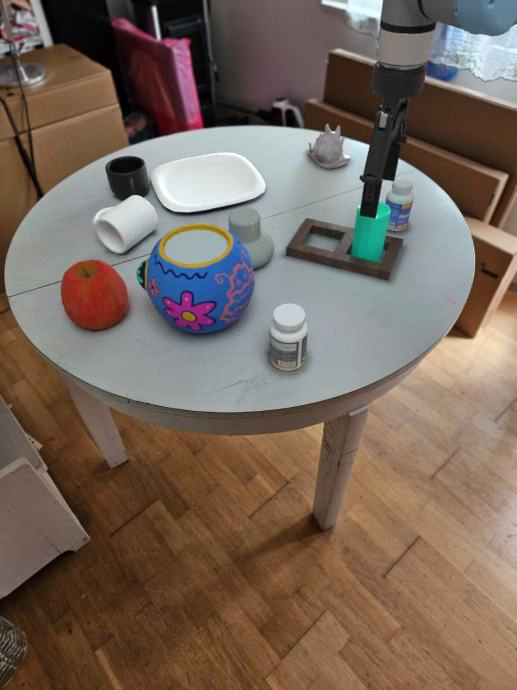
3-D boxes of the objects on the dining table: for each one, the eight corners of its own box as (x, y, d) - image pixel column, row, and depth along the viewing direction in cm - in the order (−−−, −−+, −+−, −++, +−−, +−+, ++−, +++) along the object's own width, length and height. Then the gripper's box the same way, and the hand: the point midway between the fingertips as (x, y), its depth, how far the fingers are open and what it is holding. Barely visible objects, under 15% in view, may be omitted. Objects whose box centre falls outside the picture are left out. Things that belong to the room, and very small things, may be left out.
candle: (387, 255, 93) (399, 200, 84) (369, 269, 90) (380, 214, 81) (361, 243, 96) (370, 189, 87) (344, 257, 93) (351, 202, 84)
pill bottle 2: (399, 235, 97) (409, 192, 90) (376, 226, 100) (384, 183, 93) (411, 223, 100) (422, 181, 93) (389, 215, 103) (397, 173, 95)
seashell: (329, 174, 115) (332, 136, 109) (294, 158, 122) (296, 121, 115) (356, 161, 120) (361, 123, 113) (321, 146, 126) (324, 109, 119)
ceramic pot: (193, 272, 91) (182, 201, 80) (274, 301, 84) (274, 230, 73) (134, 328, 81) (112, 256, 70) (220, 367, 74) (211, 295, 63)
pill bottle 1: (286, 340, 78) (288, 295, 70) (312, 358, 75) (317, 313, 68) (262, 359, 75) (261, 314, 68) (288, 378, 72) (290, 333, 65)
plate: (240, 153, 124) (239, 147, 123) (276, 200, 108) (276, 193, 106) (145, 171, 118) (143, 165, 117) (168, 224, 102) (166, 217, 101)
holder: (402, 247, 95) (404, 238, 93) (388, 280, 88) (390, 272, 86) (305, 225, 101) (306, 217, 99) (286, 255, 94) (286, 247, 92)
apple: (107, 286, 88) (91, 238, 80) (145, 310, 83) (132, 262, 76) (58, 317, 83) (36, 269, 75) (96, 345, 78) (76, 297, 70)
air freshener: (280, 256, 93) (281, 211, 86) (260, 280, 89) (259, 235, 81) (233, 241, 97) (230, 197, 90) (211, 263, 92) (206, 218, 85)
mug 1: (110, 188, 113) (102, 159, 108) (147, 181, 115) (141, 152, 110) (117, 213, 106) (109, 183, 100) (156, 205, 107) (151, 176, 102)
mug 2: (161, 234, 99) (154, 200, 94) (129, 259, 94) (120, 224, 88) (119, 219, 104) (110, 185, 98) (86, 242, 98) (74, 208, 92)
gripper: (394, 36, 76) (374, 162, 92) (351, 87, 61) (336, 229, 76) (442, 40, 74) (413, 169, 90) (409, 94, 59) (381, 238, 74)
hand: (377, 197), depth 83 cm, fingers open, 13 cm apart
